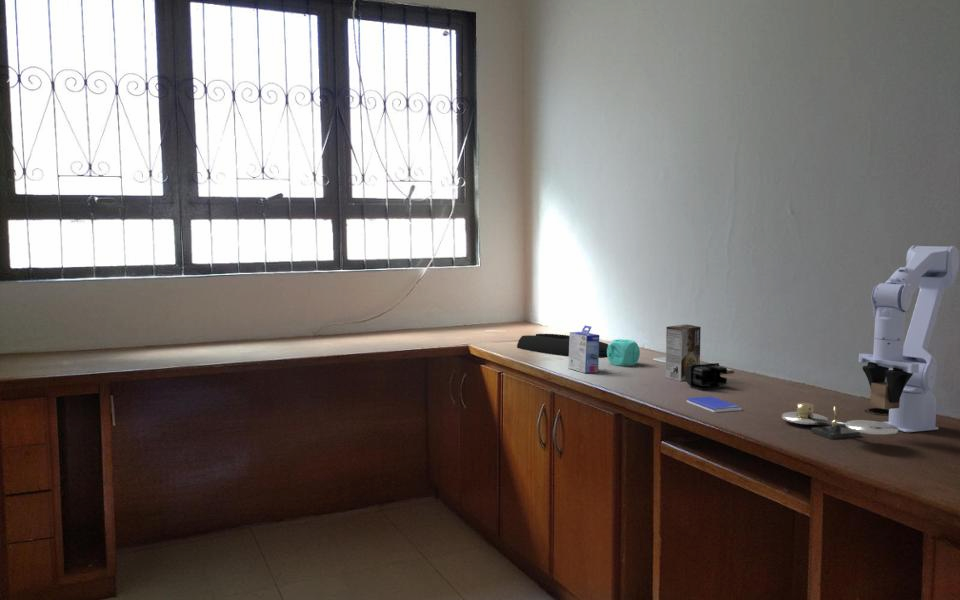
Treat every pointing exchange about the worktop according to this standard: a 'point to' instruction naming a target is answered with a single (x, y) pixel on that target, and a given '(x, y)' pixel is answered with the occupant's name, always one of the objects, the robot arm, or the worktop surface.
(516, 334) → the worktop surface
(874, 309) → the robot arm
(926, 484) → the worktop surface
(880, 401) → the walnut block
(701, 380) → the black electrical connector
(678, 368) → the coffee box
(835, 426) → the balance
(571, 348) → the ink cartridge box
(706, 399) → the hard drive
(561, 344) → the docking station
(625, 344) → the decorative dice
